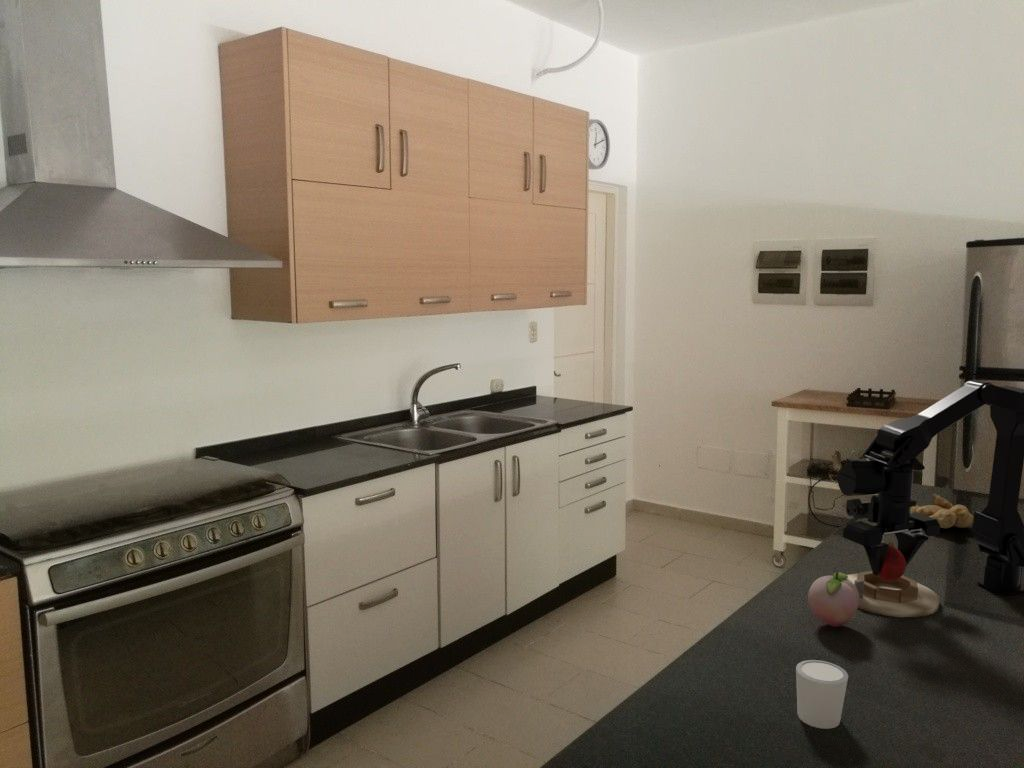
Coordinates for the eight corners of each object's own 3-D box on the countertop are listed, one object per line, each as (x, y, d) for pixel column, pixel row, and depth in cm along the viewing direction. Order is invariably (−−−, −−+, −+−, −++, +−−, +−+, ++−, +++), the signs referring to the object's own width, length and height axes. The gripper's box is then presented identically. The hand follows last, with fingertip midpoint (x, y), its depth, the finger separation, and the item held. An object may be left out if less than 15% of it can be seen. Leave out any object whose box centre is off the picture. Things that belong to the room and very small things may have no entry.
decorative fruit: (809, 611, 151) (813, 559, 150) (858, 620, 148) (862, 567, 146) (803, 632, 143) (806, 576, 141) (854, 642, 139) (858, 585, 138)
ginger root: (995, 532, 192) (989, 499, 191) (926, 547, 193) (920, 514, 192) (960, 514, 208) (955, 483, 207) (897, 528, 208) (891, 497, 207)
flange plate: (884, 573, 170) (885, 554, 169) (961, 608, 153) (963, 586, 153) (814, 586, 163) (816, 566, 162) (887, 624, 146) (889, 601, 146)
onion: (908, 590, 154) (911, 548, 153) (874, 587, 155) (877, 546, 154) (900, 578, 160) (903, 538, 159) (868, 575, 161) (871, 536, 160)
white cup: (784, 705, 120) (787, 659, 119) (831, 703, 120) (834, 658, 119) (805, 732, 113) (808, 684, 112) (854, 730, 114) (857, 682, 112)
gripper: (897, 477, 166) (891, 552, 168) (824, 486, 159) (818, 564, 161) (945, 491, 156) (938, 571, 158) (869, 502, 149) (863, 585, 151)
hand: (888, 572), depth 157 cm, fingers closed on onion, 6 cm apart
